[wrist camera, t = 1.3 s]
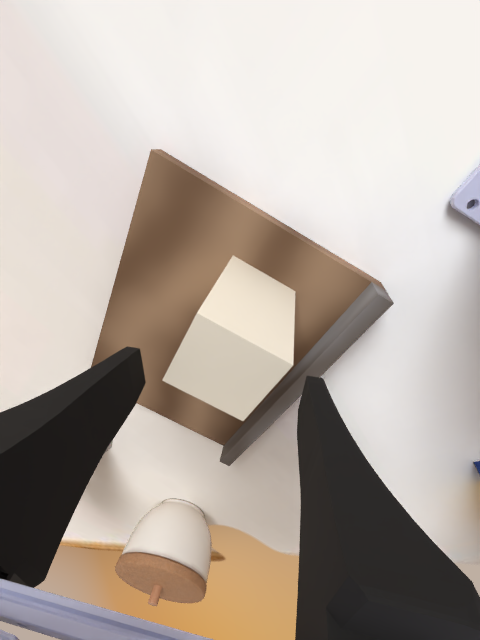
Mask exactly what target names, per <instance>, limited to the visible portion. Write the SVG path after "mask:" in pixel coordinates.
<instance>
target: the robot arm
mask: <svg viewBox="0 0 480 640" xmlns="http://www.w3.org/2000/svg"><path fill="white" fill-rule="evenodd" d="M473 199H474V200H475V204H474V206H473V207H471V208H470V209H467V204H468V202H469V201H471V200H473ZM450 204H451V206H452V207H453V208H454V209H456V210H457V211H459V212H460V213H462V214H463V215H465V216H466V217H468V218H469V219H471V220H472V221H474V222H475V223H477V224H478V225H480V165H479V166H478V167H477V168H476V169H475V170H474V171H473V172H472V174H471V175H470V176H469V177H468V178H467V179H466V180H465V181H464V182H463V183H462V185H461V186H460V187H459V188H458V189H457V190H456V191H455V192H454V193H453V195H452V196H451V199H450ZM145 383H146V381H145V375H144V369H143V363H142V357H141V351H140V348H134V347H128V346H127V347H125V348H123V349H121V350H120V351H118V352H116V353H115V354H113V355H111V356H110V357H108V358H106V359H105V360H103V361H102V362H100V363H98V364H97V365H95V366H93V367H92V368H90V369H88V370H87V371H85V372H83V373H81V374H80V375H78V376H76V377H74V378H72V379H71V380H69V381H67V382H65V383H63V384H62V385H60V386H58V387H56V388H54V389H52V390H50V391H48V392H46V393H44V394H42V395H40V396H38V397H36V398H34V399H32V400H29V401H27V402H25V403H23V404H20V405H18V406H16V407H13V408H11V409H8V410H6V411H3V412H1V413H0V621H3V622H6V623H9V624H12V625H16V626H19V627H22V628H26V629H29V630H32V631H35V632H38V633H42V634H45V635H48V636H51V637H55V638H58V639H61V640H213V639H209V638H206V637H202V636H199V635H196V634H192V633H189V632H185V631H182V630H178V629H175V628H171V627H168V626H164V625H161V624H157V623H153V622H150V621H147V620H143V619H140V618H136V617H133V616H129V615H126V614H122V613H119V612H115V611H112V610H108V609H105V608H101V607H98V606H94V605H90V604H88V603H84V602H80V601H77V600H74V599H70V598H67V597H63V596H60V595H56V594H53V593H49V592H45V591H42V590H39V589H35V588H34V587H36V586H37V585H39V584H40V583H41V582H43V581H44V580H45V578H46V575H47V573H48V570H49V568H50V566H51V563H52V561H53V559H54V556H55V554H56V552H57V549H58V547H59V544H60V542H61V540H62V537H63V535H64V533H65V531H66V529H67V526H68V524H69V522H70V520H71V518H72V515H73V513H74V511H75V509H76V507H77V505H78V503H79V501H80V499H81V496H82V494H83V492H84V490H85V488H86V486H87V484H88V482H89V480H90V478H91V476H92V475H93V473H94V471H95V469H96V467H97V465H98V463H99V461H100V459H101V458H102V456H103V454H104V453H105V451H106V449H107V448H108V446H109V445H110V443H111V441H112V440H113V438H114V437H115V435H116V434H117V432H118V431H119V429H120V428H121V426H122V425H123V423H124V422H125V420H126V418H127V417H128V415H129V414H130V412H131V411H132V409H133V407H134V406H135V404H136V402H137V400H138V398H139V396H140V394H141V392H142V390H143V388H144V386H145ZM297 440H298V457H299V472H300V488H301V519H300V552H299V578H298V599H297V600H298V601H297V619H296V637H295V638H296V639H295V640H480V597H479V595H478V593H477V591H476V589H475V587H474V585H473V583H472V581H470V579H469V578H468V577H467V576H466V575H465V574H464V573H463V572H462V571H461V570H460V569H459V568H458V567H457V566H456V565H455V564H454V563H453V562H452V561H451V560H450V559H449V558H448V557H447V556H446V555H445V554H444V553H443V552H442V551H441V549H440V548H439V547H438V546H437V545H436V544H435V543H434V542H433V541H432V540H431V539H430V538H429V537H428V536H427V535H426V533H425V532H424V531H423V530H422V529H421V528H420V527H419V526H418V525H417V523H416V522H415V521H414V520H413V519H412V518H411V516H410V515H409V514H408V513H407V512H406V510H405V509H404V508H403V507H402V505H401V504H400V503H399V502H398V501H397V499H396V498H395V497H394V496H393V495H392V493H391V492H390V491H389V490H388V488H387V487H386V486H385V484H384V483H383V482H382V480H381V479H380V478H379V476H378V475H377V474H376V472H375V471H374V469H373V468H372V467H371V465H370V464H369V462H368V461H367V459H366V458H365V456H364V455H363V453H362V452H361V450H360V449H359V447H358V446H357V444H356V442H355V441H354V439H353V437H352V436H351V434H350V432H349V431H348V429H347V427H346V425H345V423H344V422H343V420H342V418H341V416H340V414H339V412H338V410H337V408H336V406H335V404H334V402H333V400H332V398H331V396H330V394H329V391H328V389H327V387H326V384H325V382H324V380H323V379H322V378H319V377H313V376H306V380H305V384H304V388H303V392H302V397H301V401H300V405H299V409H298V425H297ZM0 640H19V639H18V638H17V637H16V636H15V635H13V634H10V633H7V632H5V631H3V630H0Z"/></svg>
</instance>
